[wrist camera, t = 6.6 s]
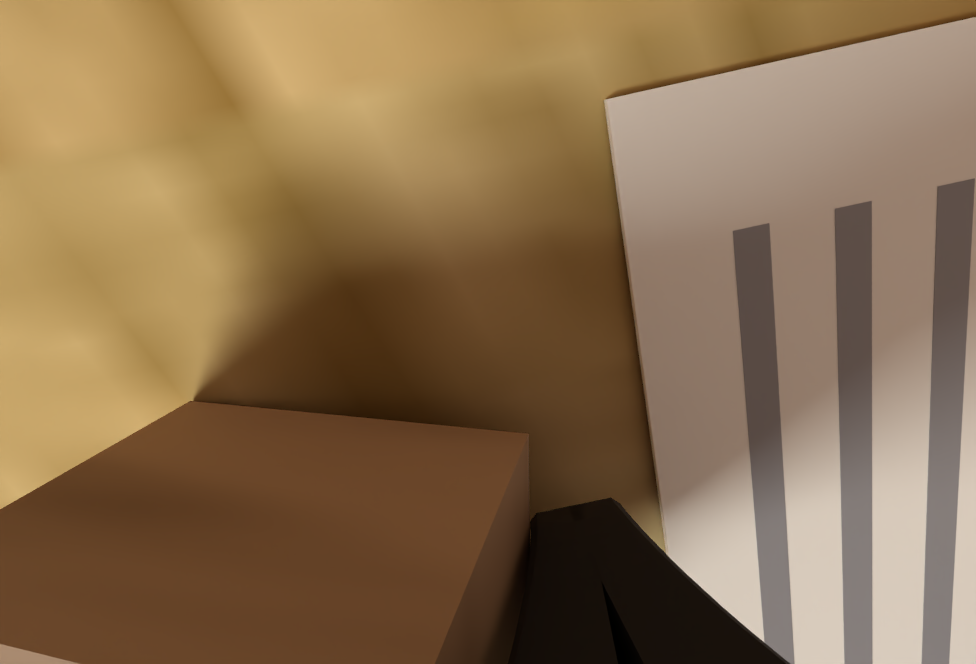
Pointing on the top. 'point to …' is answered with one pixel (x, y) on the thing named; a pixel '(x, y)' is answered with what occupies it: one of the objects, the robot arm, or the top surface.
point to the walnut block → (272, 545)
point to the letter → (814, 340)
